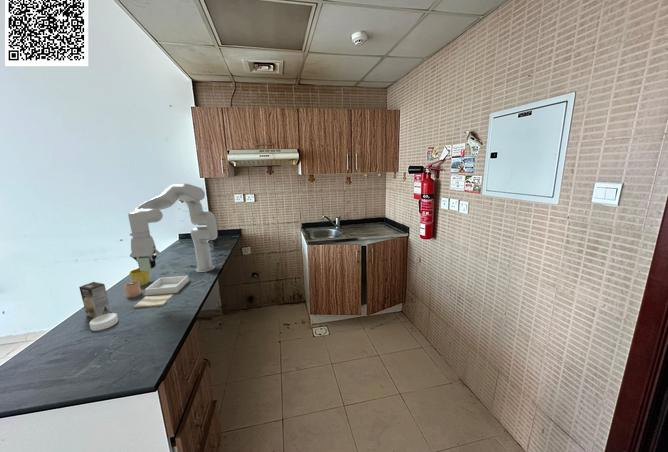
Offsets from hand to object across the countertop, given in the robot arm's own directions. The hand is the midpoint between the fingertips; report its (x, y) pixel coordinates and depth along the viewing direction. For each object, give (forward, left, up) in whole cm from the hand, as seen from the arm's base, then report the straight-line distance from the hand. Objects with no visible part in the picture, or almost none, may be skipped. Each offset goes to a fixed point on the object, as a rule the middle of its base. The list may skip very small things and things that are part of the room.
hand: (147, 267), depth 141 cm
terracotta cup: (-10, -16, -20) cm, 28 cm away
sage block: (0, 0, -1) cm, 1 cm away
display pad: (0, 0, -20) cm, 20 cm away
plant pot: (-27, -21, -20) cm, 40 cm away
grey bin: (-16, 0, -20) cm, 26 cm away
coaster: (+20, -12, -21) cm, 31 cm away
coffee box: (+9, -22, -20) cm, 31 cm away
